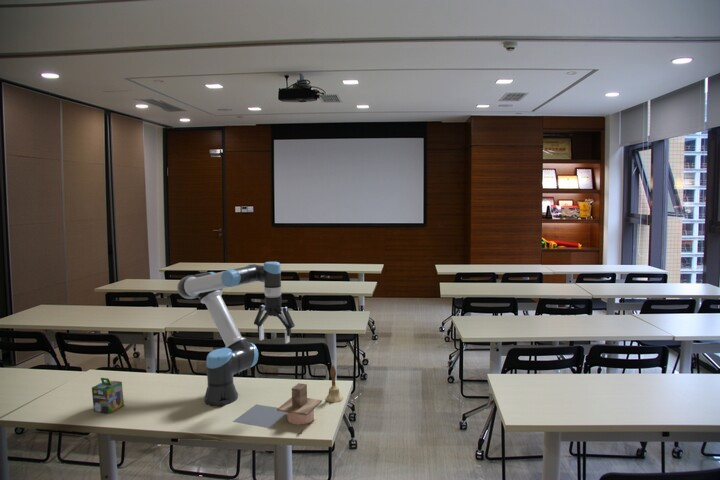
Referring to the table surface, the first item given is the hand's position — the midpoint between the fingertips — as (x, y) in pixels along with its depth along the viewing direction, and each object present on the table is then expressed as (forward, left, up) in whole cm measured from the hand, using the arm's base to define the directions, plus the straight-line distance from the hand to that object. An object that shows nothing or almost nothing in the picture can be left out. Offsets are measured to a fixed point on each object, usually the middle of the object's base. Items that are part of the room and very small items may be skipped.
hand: (274, 341), depth 228 cm
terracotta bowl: (+20, -14, -29) cm, 37 cm away
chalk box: (-69, -32, -29) cm, 81 cm away
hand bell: (+25, +10, -29) cm, 39 cm away
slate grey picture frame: (+3, -17, -29) cm, 33 cm away
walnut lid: (+20, -14, -23) cm, 33 cm away
